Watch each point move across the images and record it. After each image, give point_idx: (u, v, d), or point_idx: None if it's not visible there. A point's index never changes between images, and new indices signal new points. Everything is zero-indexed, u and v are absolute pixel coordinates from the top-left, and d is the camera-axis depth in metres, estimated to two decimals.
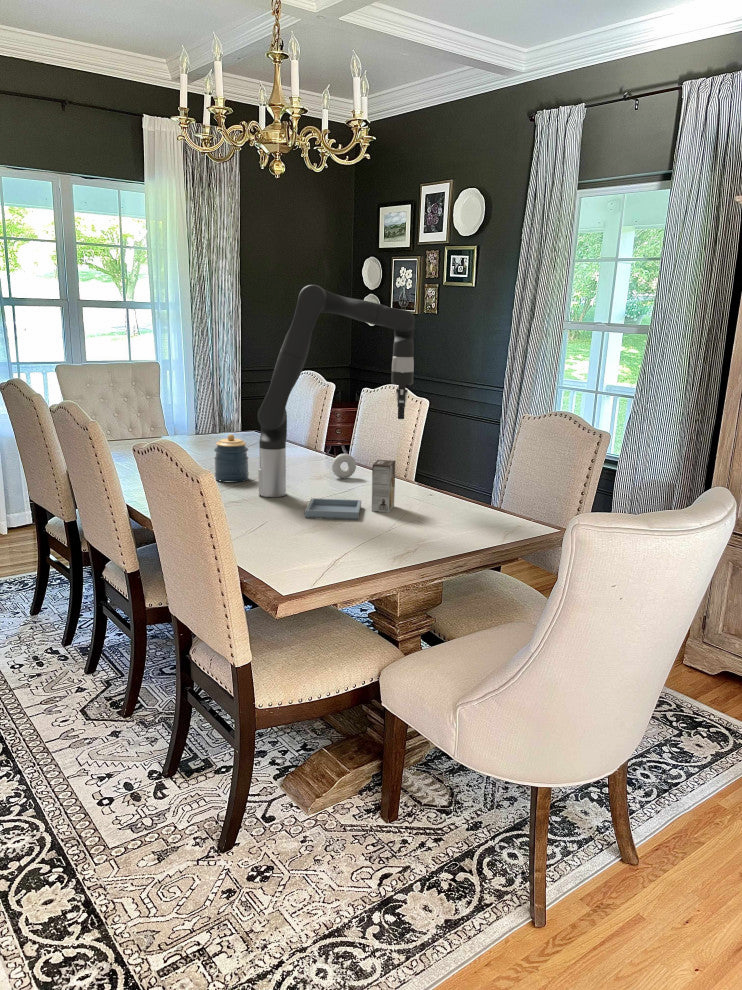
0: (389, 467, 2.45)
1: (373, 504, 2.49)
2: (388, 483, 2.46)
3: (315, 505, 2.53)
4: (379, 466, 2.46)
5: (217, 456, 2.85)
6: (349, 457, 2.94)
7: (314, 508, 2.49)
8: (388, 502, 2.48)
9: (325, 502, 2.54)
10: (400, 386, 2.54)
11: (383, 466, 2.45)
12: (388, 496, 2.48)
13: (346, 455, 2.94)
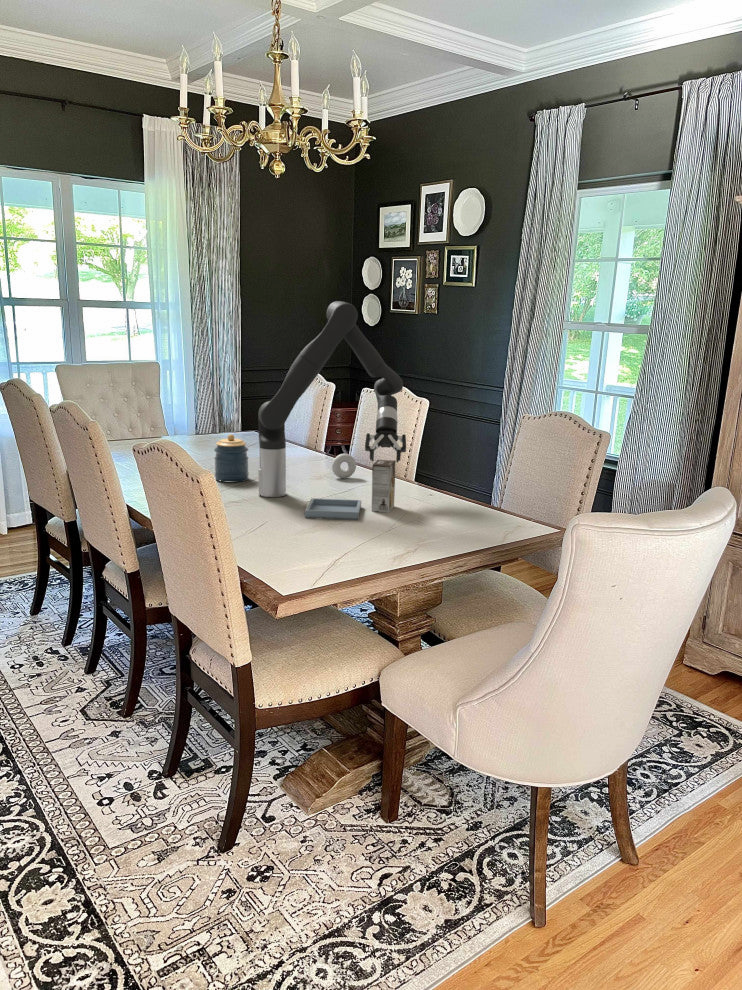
0: (389, 467, 2.45)
1: (373, 504, 2.49)
2: (388, 483, 2.46)
3: (315, 505, 2.53)
4: (379, 466, 2.46)
5: (217, 456, 2.85)
6: (349, 457, 2.94)
7: (314, 508, 2.49)
8: (388, 502, 2.48)
9: (325, 502, 2.54)
10: (396, 433, 2.62)
11: (383, 466, 2.45)
12: (388, 496, 2.48)
13: (346, 455, 2.94)
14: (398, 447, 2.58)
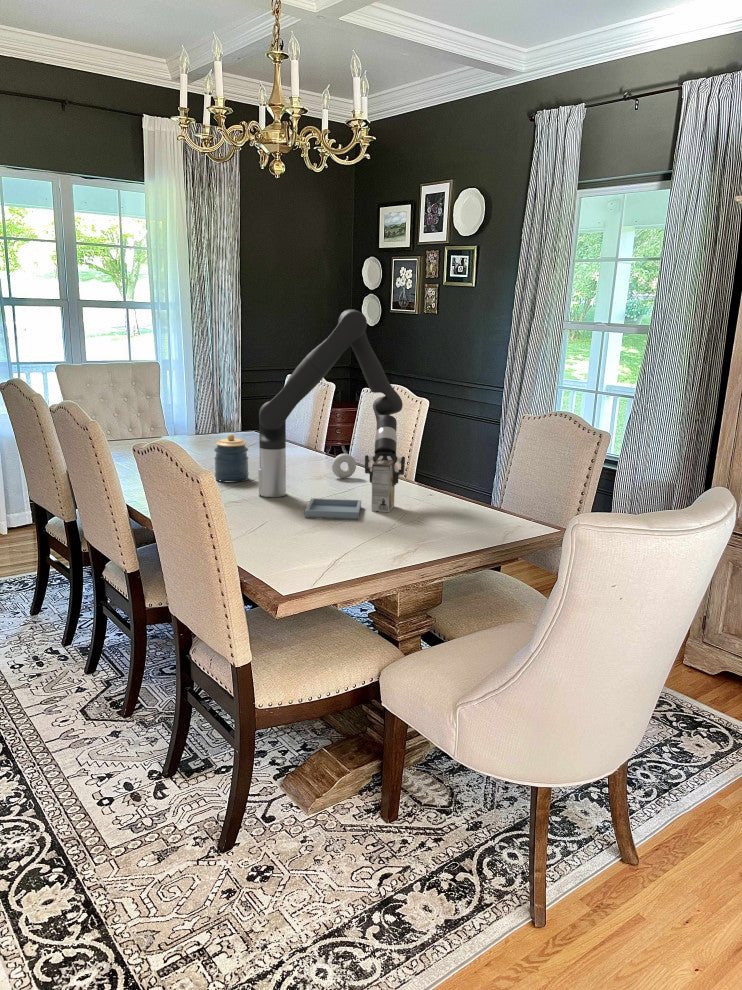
0: (389, 467, 2.45)
1: (373, 504, 2.49)
2: (388, 483, 2.46)
3: (315, 505, 2.53)
4: (379, 466, 2.46)
5: (217, 456, 2.85)
6: (349, 457, 2.94)
7: (314, 508, 2.49)
8: (388, 502, 2.48)
9: (325, 502, 2.54)
10: None
11: (383, 466, 2.45)
12: (388, 496, 2.48)
13: (346, 455, 2.94)
14: (396, 469, 2.52)
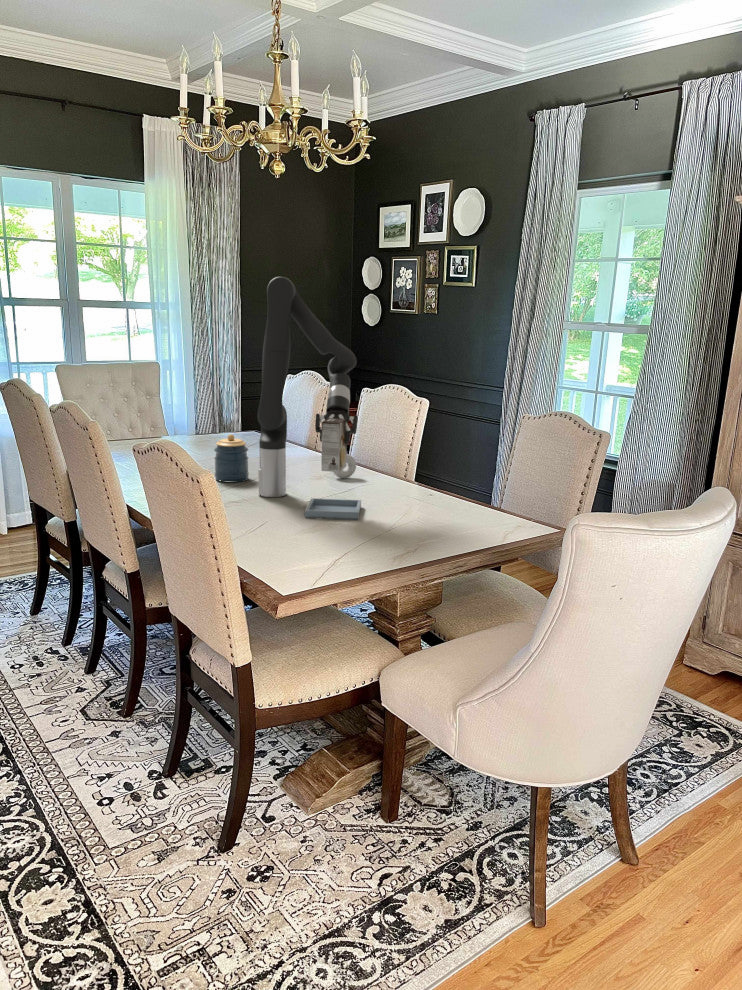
0: (339, 424, 2.36)
1: (323, 463, 2.40)
2: (338, 441, 2.37)
3: (315, 505, 2.53)
4: (328, 423, 2.36)
5: (217, 456, 2.85)
6: (349, 457, 2.94)
7: (314, 508, 2.49)
8: (338, 461, 2.39)
9: (325, 502, 2.54)
10: (348, 413, 2.47)
11: (332, 423, 2.36)
12: (338, 455, 2.38)
13: None
14: (347, 428, 2.43)
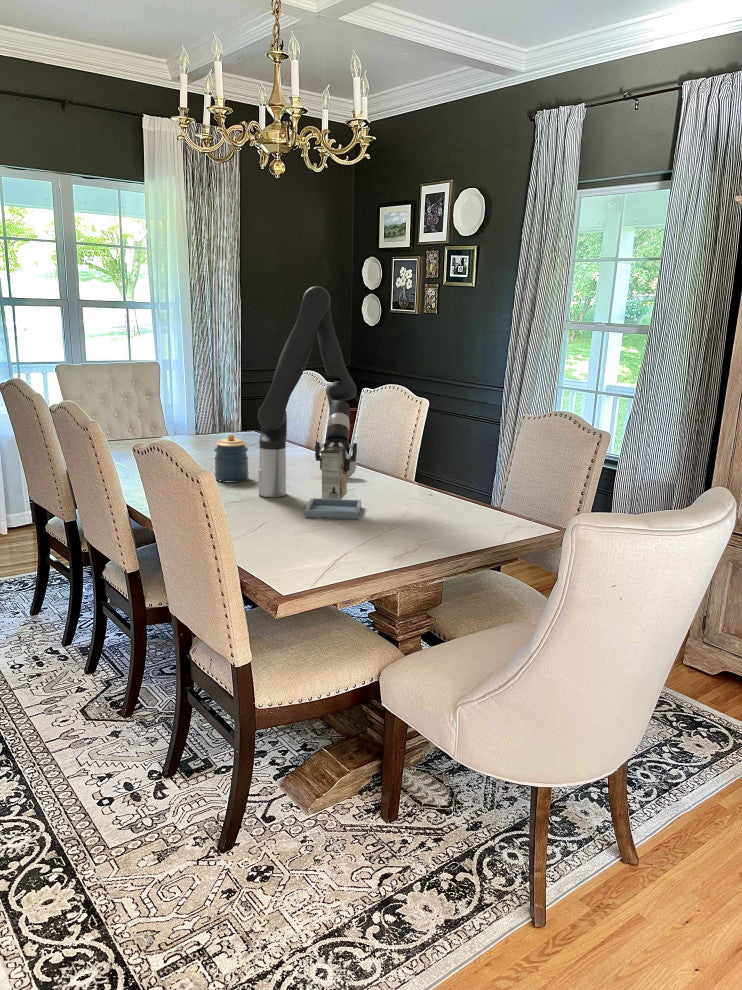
0: (338, 453, 2.38)
1: (323, 492, 2.42)
2: (338, 470, 2.39)
3: (315, 505, 2.53)
4: (328, 452, 2.38)
5: (217, 456, 2.85)
6: None
7: (314, 508, 2.49)
8: (338, 490, 2.41)
9: (325, 502, 2.54)
10: None
11: (332, 452, 2.38)
12: (338, 483, 2.40)
13: None
14: (347, 456, 2.45)
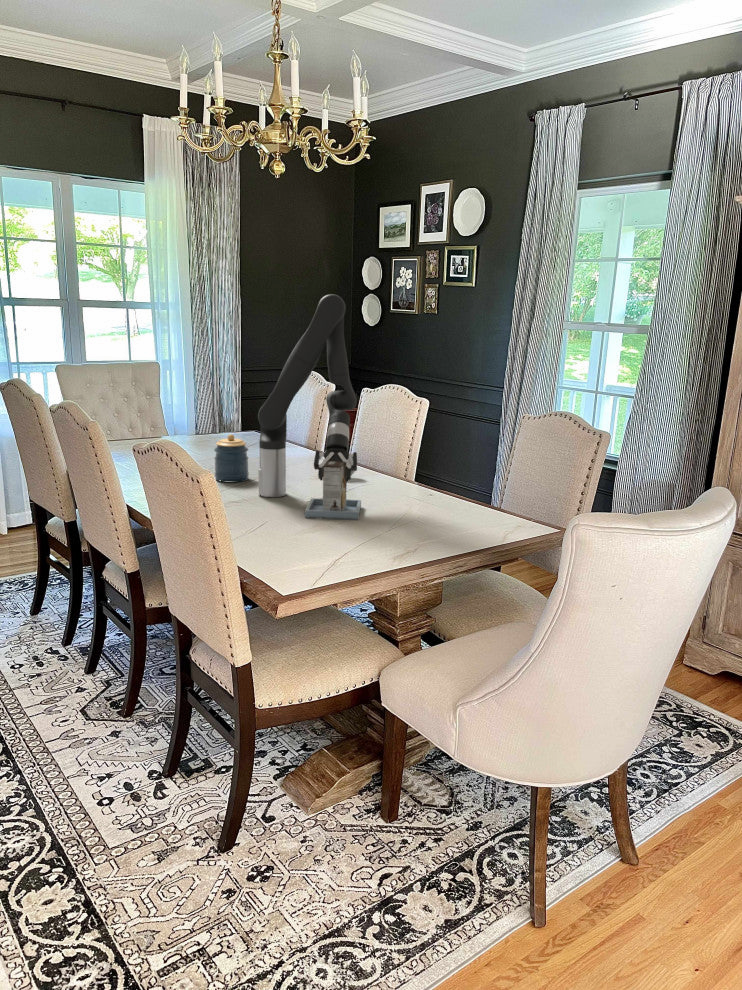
0: (340, 468, 2.39)
1: (324, 506, 2.43)
2: (339, 484, 2.41)
3: (315, 505, 2.53)
4: (330, 467, 2.40)
5: (217, 456, 2.85)
6: None
7: (314, 508, 2.49)
8: (340, 504, 2.42)
9: None
10: (347, 451, 2.49)
11: (334, 467, 2.39)
12: (339, 497, 2.42)
13: None
14: (348, 465, 2.46)
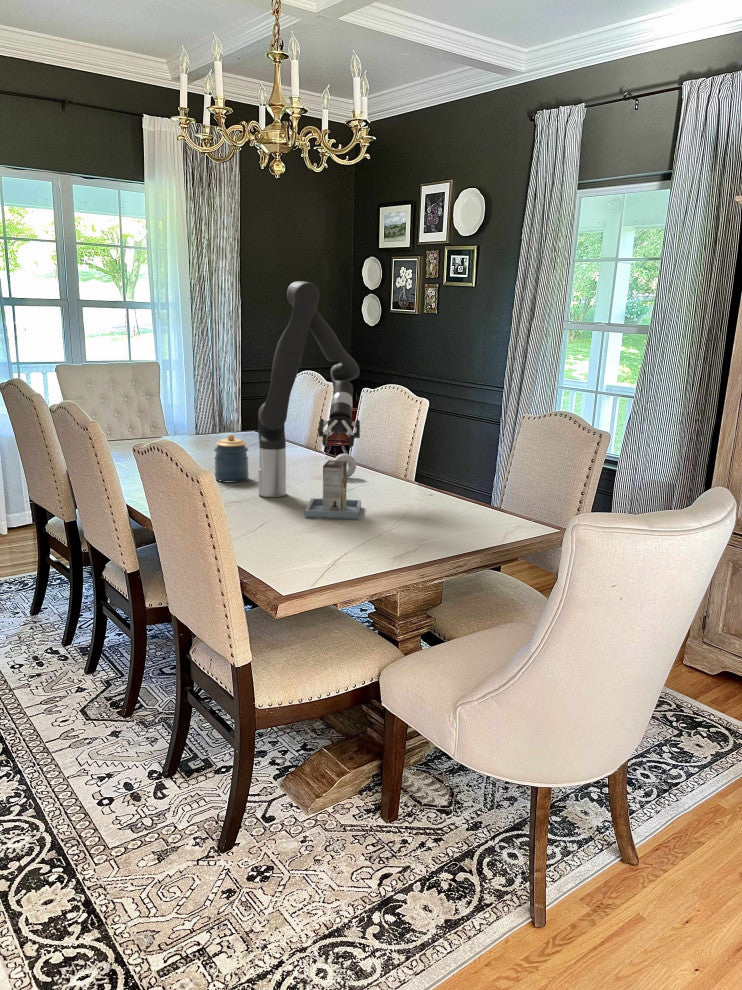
0: (340, 468, 2.39)
1: (324, 506, 2.43)
2: (339, 484, 2.41)
3: (315, 505, 2.53)
4: (330, 467, 2.40)
5: (217, 456, 2.85)
6: (349, 457, 2.94)
7: (314, 508, 2.49)
8: (340, 504, 2.42)
9: None
10: (350, 419, 2.59)
11: (334, 467, 2.39)
12: (339, 497, 2.42)
13: (346, 455, 2.94)
14: (351, 433, 2.55)
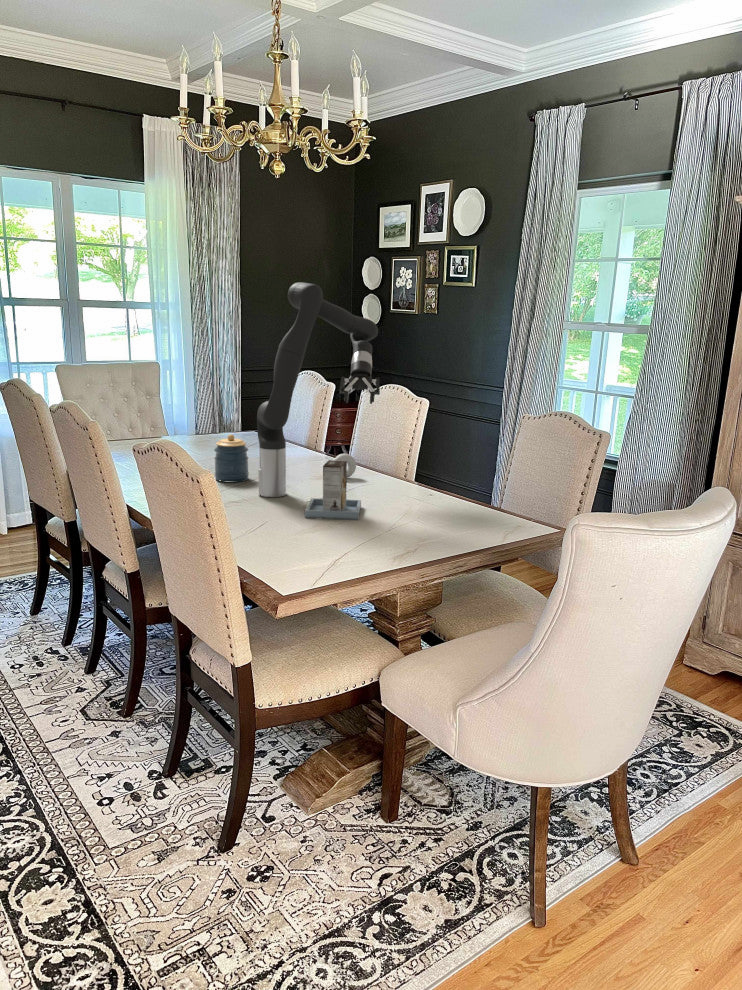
0: (340, 468, 2.39)
1: (324, 506, 2.43)
2: (339, 484, 2.41)
3: (315, 505, 2.53)
4: (330, 467, 2.40)
5: (217, 456, 2.85)
6: (349, 457, 2.94)
7: (314, 508, 2.49)
8: (340, 504, 2.42)
9: None
10: None
11: (334, 467, 2.39)
12: (339, 497, 2.42)
13: (346, 455, 2.94)
14: (372, 389, 2.64)
